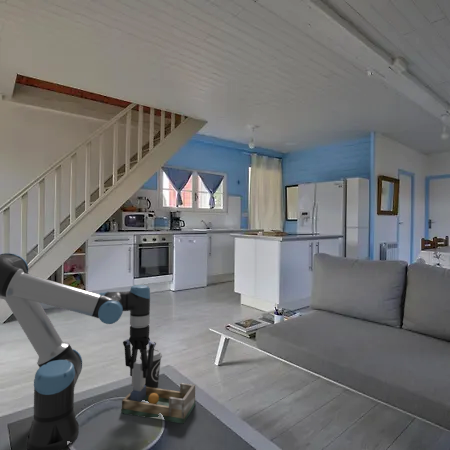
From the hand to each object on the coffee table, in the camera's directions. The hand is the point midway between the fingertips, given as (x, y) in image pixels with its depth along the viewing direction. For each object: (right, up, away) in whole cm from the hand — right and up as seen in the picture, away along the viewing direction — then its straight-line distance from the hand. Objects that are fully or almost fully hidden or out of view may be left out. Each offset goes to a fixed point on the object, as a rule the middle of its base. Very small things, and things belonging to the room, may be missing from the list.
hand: (138, 384), depth 125 cm
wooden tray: (+9, -8, -2) cm, 12 cm away
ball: (+6, -5, -2) cm, 8 cm away
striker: (0, -6, 0) cm, 6 cm away
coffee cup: (+1, -9, +15) cm, 17 cm away
